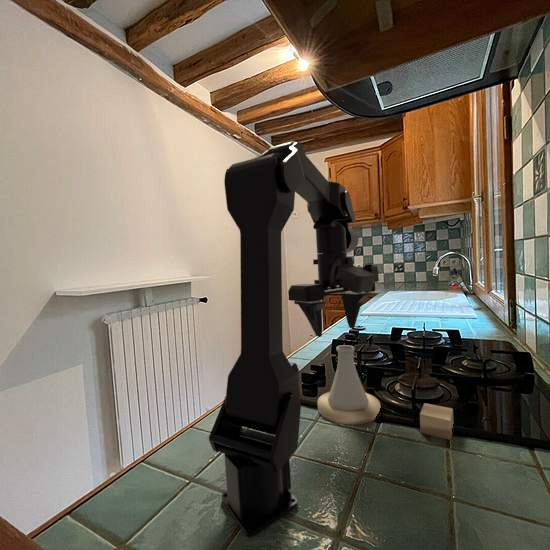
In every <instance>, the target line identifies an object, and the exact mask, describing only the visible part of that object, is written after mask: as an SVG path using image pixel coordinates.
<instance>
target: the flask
mask: <svg viewBox="0 0 550 550" xmlns="http://www.w3.org/2000/svg"><path fill="white" fill-rule="evenodd" d="M335 348H336V349H335V350H336V352H337V359H338V360H337V367H336V371H335V375H334V378H333V382H332V385H331V388H330V391H329V392H330V394H329V397H328V402H329V403H330V405H331V406H332V407H333V408H338V409H342V410H347V411H350V410H359V409H365V408H366V406H367V404H368V403H369V400H368V398H367V395H366V393H367V392H366V391H365V388H364V387H363V384H362V382H361V378H360V377H359V374H358V371H357V368H356V364H355V359H354V351H355V350H356V349H355V347H354V346H353V345H350V344H349V345H347V344H346V345H345V344H344V345H337V346H336V347H335Z"/></svg>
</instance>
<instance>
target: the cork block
mask: <svg viewBox="0 0 550 550" xmlns="http://www.w3.org/2000/svg"><path fill="white" fill-rule="evenodd" d="M453 424H454V409H453V408H451V407H447V406H441V405H437V404H436V405H435V404H430V403H425V402H424V403H423V406H422V407H421V410H420V412H419V425H420V427H419V428H420V429H419V430H420V433H422V434H426V435H430V436H434V437H437V438H442V439H445V440H449V441H451V440H452V436H453V432H452V428H453V429H454V427H453Z"/></svg>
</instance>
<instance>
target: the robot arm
mask: <svg viewBox="0 0 550 550" xmlns="http://www.w3.org/2000/svg"><path fill="white" fill-rule="evenodd" d="M223 183H224V192H225V193H224V194H225V200H226V202H225V203H226V210H227V212H228V213H229V215H230V217H231V218H232V220H233V221H234V224H235V225H236V226H237V228H238V230H239V237H240V238H239V239H240V241H239V242H240V245H239V247H240V250H239V251H240V253H239V254H240V262H239V263H240V354H239V356H238V358H237V359H236V361H235V363H234V365H233V366H232V368H231V370H230V371H229V373H228V375H227V382H226V391H225V397H224V400H223V401H222V405H221V406H220V409H219V412H218V414H217V416H216V419H215V421H214V423H213V426H212V428H211V431H210V433H209V436H208V441H209V443H210V447H211V449H212V451H213V452H215V453H222V454H224V464H225V465H224V466H225V479H226V480H225V481H226V482H225V483H226V491H225V492H223V493H222V494H221V501H222V503H223V504H224V505H225V508H227V510H228V511H229V513H230V515H231V516H232V517H233V518H234V520H235V521H236V522H237V525H239V527H240V529H241V530H242V531H243V533H244V534H245V536H246V537H253V536H254V535H256V534H257V533H259V532H260V531H262V530H264V529H265V528H267V527H268V526H269V525H271V524H272V523H274V522H275V521H277V520H278V519H281V517H283V516H285V515H286V514H287V513H289V512H290V511H293V509H295V508H297V507H298V505H299V504H298V503H299V502H298V498H297V497H296V496H295V495H294V494H293V493H292V492H291V491H289V490H291V489H292V482H291V481H292V480H291V476H292V475H291V464H290V462H291V461H290V458H291V457H292V456H293V454H294V452H295V451H296V450H297V448H298V445H299V437H300V436H299V433H300V423H301V422H300V421H301V411H302V410H301V408H302V403H301V398H300V397H301V394H300V387H299V386H300V385H299V379H300V378H299V377H300V370H299V367H298V364H297V363H296V362H292V361H289V360H288V358H287V356H286V355H285V353H284V349H283V347H284V346H283V281H282V280H283V277H282V276H283V275H282V272H283V271H282V269H283V268H282V231H283V230H284V228H285V226H286V224H287V222H288V221H289V219H290V217H291V215H292V213H294V210H295V199H296V194H297V195H299V196H300V197H301V198H302V199H303V200H304V201H305V202H307V205H306V207H307V212H308V213H309V215H310V217H311V219H312V222H313V223H314V224H313V230H315V238H316V240H315V241H316V242H315V243H316V259H312V263H313V265H317V275H318V279H314V281H313V282H314V283H301V284H300V283H299V284H292V285H290V287H289V289H288V290H287V293H288V301H291V302H292V301H293V303H294V305H298V306H299V308H300V309H301V311H302V312H303V314H304V315H305V317H306V319H307V321H308V323H309V324H310V325H309V326H310V327H311V328H312V331H313V332H314V335H315V336H316V337H318V338H321V337H322V335H323V315H322V314H323V313H322V311H323V309H324V307H325V305H326V303H327V301H325V300H324V301H323V299H324V297H325V296H326V295H332V294H338V293H340V295H341V300H342V305H343V309H344V313H345V319H346V322H347V326H348V328H349V329H354V328H355V326H356V324H357V319H358V317H359V313H360V310H361V307H362V304H363V302H364V301H365V300H366V299H367V298H368V297H370V296H372V292H376V283H377V282H379V281H380V278H379V275H380V274H379V270H378V269H379V268H378V265H377V264H373V263H365V264H364V266H363V267H362V266H356V265H354V259H353V258H352V256H350V257H349V256H348V253H351V252H353V251H354V250H356V249H357V247H358V244H359V236H358V232H356V231H355V230H354V229H353V228H351V227H350V224H354V223H356V216H355V212H354V207H353V203H352V199H351V195H350V192H349V191H348V190H347V189H346V187H344V186H343V185H342V184H341V183H339V182H335V181H329V180H328V179H326V177H325V176H324V175H323V174H322V172H321V171H320V170H319V169H318V167H317V166H316V165H315V164H314V163H313V162H312V161H311V160H310V159H309V157H308V156H307V155H306V152H305V148H304V146H303V144H302V143H301V142H300V141H297V142H296V141H294V140H292V141H288V142H285V143H281V144H278V145H275V146H274V145H273V146H271V147H269V148H268V150H265V151H264V152H262V154H260V155H258V156H256V157H254V158H251V159H247V160H244V161H240V162H235V163H233V164H231V165H230V166H229V167H228V168H226V170H225V173H224V181H223Z"/></svg>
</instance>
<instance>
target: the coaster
mask: <svg viewBox="0 0 550 550" xmlns="http://www.w3.org/2000/svg"><path fill="white" fill-rule="evenodd" d="M365 393H366V395H367V398H368V400H369V403H368V404H367V406H366V408H365V409H359V410H350V411H347V410H342V409H338V408H333V407H332V406H331V405H330V403H329V402H328V397H329V394H330V391H328V392H325V393H323V394H322V395H320V396H319V397H318V399H317V411H318V413H319V414H320V416H322V417H323V418H324V419H326V420H328V421H330V422H334V423H336V424H342V425H351V426H353V425H363V424H367V423H371V422H373V421H375V420H376V419H375V418H376V416H377V414H378V413H379V411H380V408H381V403H380V400H379V399H377V398H376V397H375V396H374V395H372V394H370V393H367V392H365Z"/></svg>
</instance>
